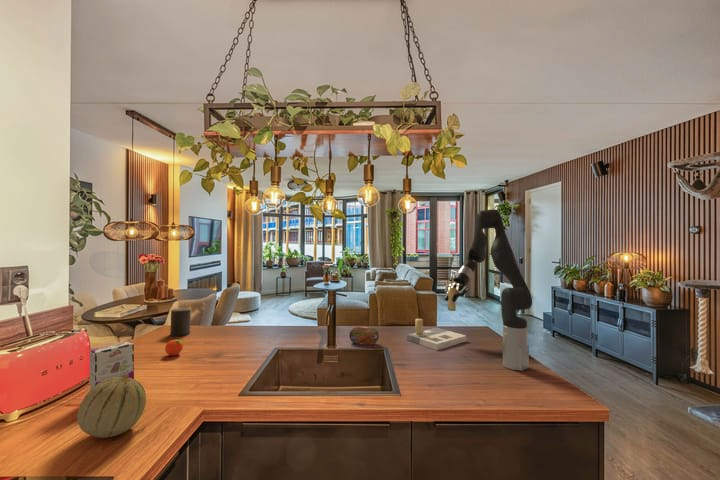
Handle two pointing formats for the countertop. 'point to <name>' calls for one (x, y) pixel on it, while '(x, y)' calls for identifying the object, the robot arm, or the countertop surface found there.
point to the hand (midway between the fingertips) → (449, 300)
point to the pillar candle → (180, 321)
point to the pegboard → (434, 337)
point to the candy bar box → (111, 362)
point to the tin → (364, 335)
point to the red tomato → (173, 347)
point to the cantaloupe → (112, 407)
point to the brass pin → (450, 295)
